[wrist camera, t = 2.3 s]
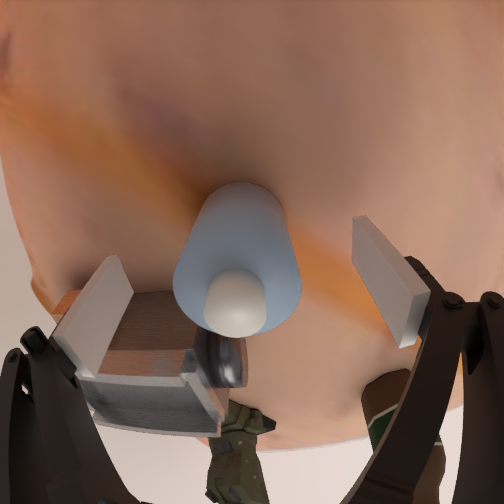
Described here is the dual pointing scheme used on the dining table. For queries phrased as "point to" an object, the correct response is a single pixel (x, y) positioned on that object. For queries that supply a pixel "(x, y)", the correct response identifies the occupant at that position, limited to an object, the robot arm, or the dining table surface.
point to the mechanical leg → (238, 458)
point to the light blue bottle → (238, 264)
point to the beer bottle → (378, 418)
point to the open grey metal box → (163, 370)
